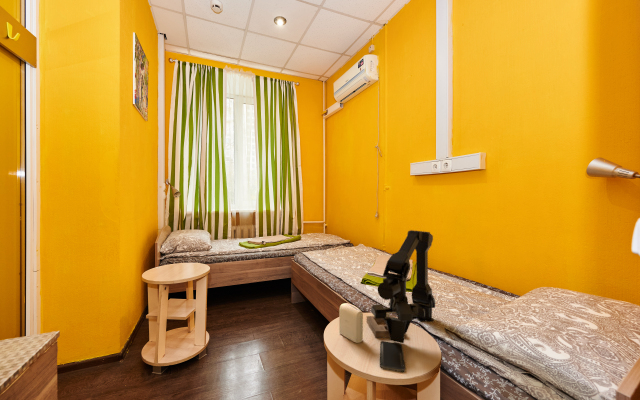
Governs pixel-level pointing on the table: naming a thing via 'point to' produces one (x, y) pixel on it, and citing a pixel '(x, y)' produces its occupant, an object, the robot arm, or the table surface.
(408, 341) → the table surface
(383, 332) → the slot board
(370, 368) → the table surface
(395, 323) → the ink cartridge
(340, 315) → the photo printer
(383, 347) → the phone
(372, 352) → the table surface
